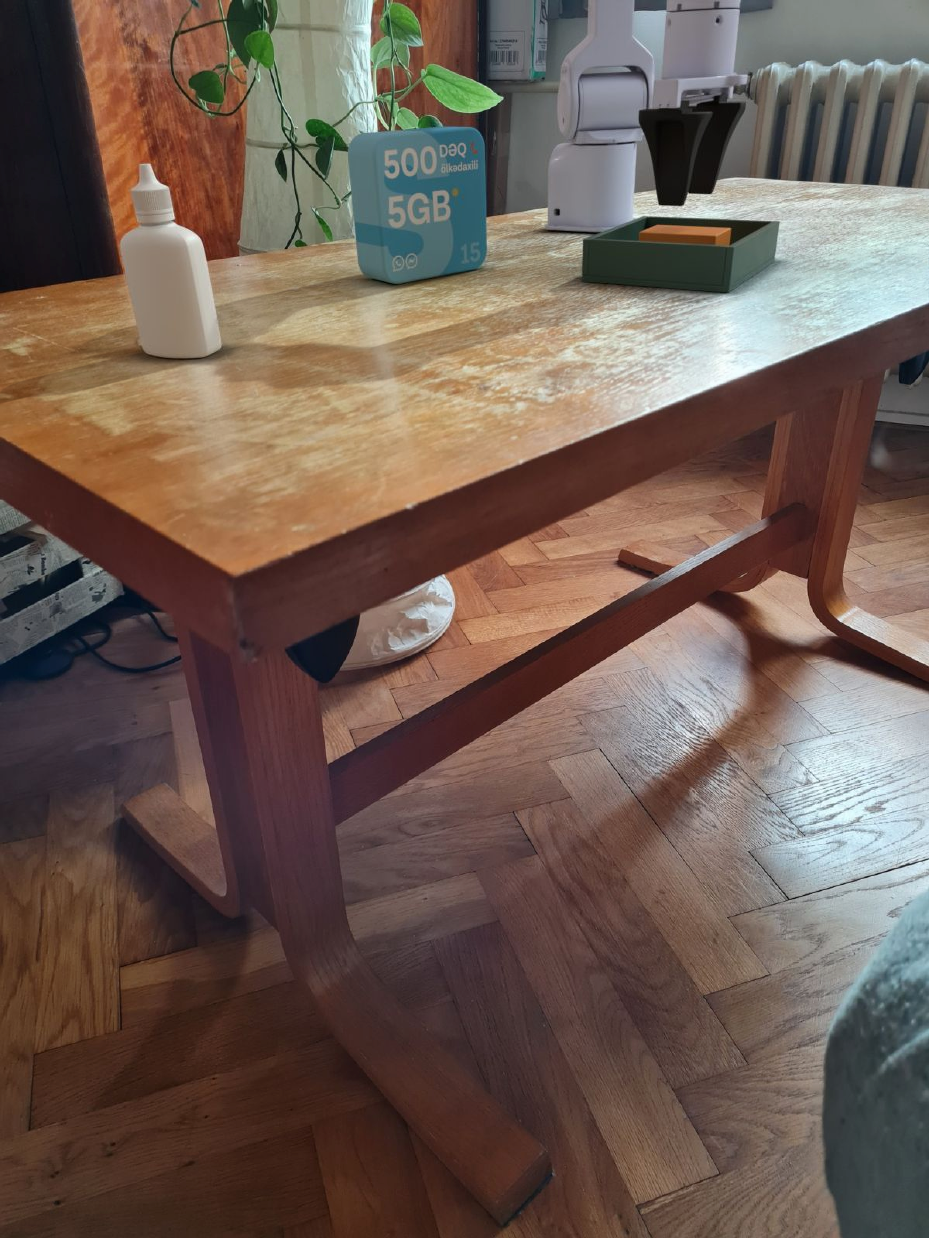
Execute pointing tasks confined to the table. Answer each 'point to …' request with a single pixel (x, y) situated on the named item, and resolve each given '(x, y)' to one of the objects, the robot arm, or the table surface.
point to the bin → (679, 255)
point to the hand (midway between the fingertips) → (686, 199)
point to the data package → (418, 202)
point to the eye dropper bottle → (168, 277)
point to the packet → (687, 235)
